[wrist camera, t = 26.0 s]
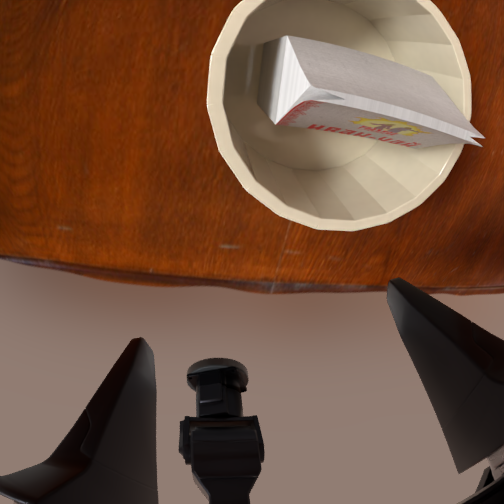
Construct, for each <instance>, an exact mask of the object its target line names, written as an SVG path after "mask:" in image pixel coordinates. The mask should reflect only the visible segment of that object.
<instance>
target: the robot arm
mask: <svg viewBox="0 0 504 504" xmlns="http://www.w3.org/2000/svg"><path fill="white" fill-rule="evenodd" d="M387 302H388V305H389V307H390V310H391V312H392V315H393V318H394V320H395V323H396V326H397V328H398V331H399V334H400V336H401V338H402V341H403V343H404V345H405V347H406V349H407V351H408V353H409V355H410V357H411V359H412V361H413V363H414V366H415V368H416V370H417V372H418V374H419V376H420V378H421V381H422V383H423V385H424V387H425V390H426V392H427V394H428V396H429V399H430V401H431V403H432V406H433V408H434V411H435V413H436V415H437V418H438V420H439V423H440V425H441V428H442V430H443V433H444V436H445V438H446V441H447V443H448V446H449V449H450V451H451V454H452V457H453V460H454V463H455V465H456V468H457V471H458V473H459V474H460V473H462V472H464V471H465V470H467V469H469V468H471V467H472V466H474V465H475V464H477V463H479V462H480V461H482V460H483V459H485V458H487V460H488V463H489V465H490V466H489V467H487V468H486V469H485V470H484V473H483V475H482V477H481V480H480V482H479V485H478V487H477V490H476V492H475V493H474V494H473V495H471V496H469V497H468V498H466V499H464V500H463V501H461V502H459V503H457V504H504V340H502V339H500V338H498V337H496V336H495V335H493V334H491V333H489V332H488V331H486V330H484V329H483V328H481V327H479V326H478V325H476V324H475V323H473V322H471V321H470V320H468V319H467V318H465V317H464V316H462V315H461V314H459V313H457V312H456V311H454V310H453V309H451V308H449V307H448V306H446V305H444V304H443V303H441V302H440V301H438V300H436V299H435V298H433V297H432V296H430V295H428V294H427V293H425V292H423V291H422V290H420V289H418V288H417V287H415V286H413V285H412V284H410V283H408V282H407V281H405V280H403V279H401V278H395V279H392V280H390V281H389V283H388V290H387ZM187 380H188V381H189V382H190V383H191V385H192V386H193V387H194V389H195V390H196V417H189V416H185V420H184V421H180V439H179V453H180V454H181V455H182V456H183V458H184V459H185V463H186V465H191V466H192V474H193V479H194V482H195V484H196V485H197V486H198V488H199V489H200V490H201V492H202V493H203V494H204V496H205V497H206V498H207V499H208V501H209V504H250V499H249V493H250V491H251V489H252V487H253V486H254V484H255V482H256V480H257V478H258V476H259V474H260V472H261V463H263V461H264V444H263V439H262V434H261V430H260V426H259V422H258V418H257V415H256V416H249V417H243V409H242V400H241V393H242V392H246V391H247V387H246V385H245V383H244V381H243V379H242V377H241V375H240V373H239V371H238V369H237V368H236V367H235V366H231V367H226V368H220V369H215V370H209V371H203V372H196V373H190V374H187ZM0 495H2V496H5V497H7V498H9V499H12V500H14V504H158V491H157V465H156V379H155V365H154V355H153V351H152V349H151V348H150V347H149V345H148V344H147V342H146V341H145V340H144V338H141V337H140V338H134V339H132V340H131V341H130V343H129V344H128V346H127V347H126V348H125V350H124V352H123V353H122V354H121V356H120V357H119V359H118V360H117V361H116V363H115V364H114V366H113V367H112V369H111V370H110V372H109V373H108V375H107V376H106V378H105V379H104V381H103V382H102V384H101V385H100V387H99V388H98V390H97V391H96V393H95V394H94V396H93V397H92V399H91V400H90V402H89V403H88V405H87V406H86V409H84V411H83V413H82V414H81V416H80V417H79V418H78V420H77V421H76V423H75V424H74V426H73V427H72V429H71V430H70V432H69V433H68V434H67V435H66V437H65V438H64V439H63V440H62V442H61V443H60V444H59V446H58V447H57V448H56V450H55V451H54V452H53V453H52V455H51V456H50V457H49V458H48V459H47V460H45V461H44V462H42V463H40V464H37V465H35V466H32V467H29V468H26V469H24V470H21V471H18V472H15V473H12V474H9V475H5V476H0Z"/></svg>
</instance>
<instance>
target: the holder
mask: <svg viewBox="0 0 504 504" xmlns="http://www.w3.org/2000/svg"><path fill="white" fill-rule="evenodd" d="M287 35H288V36H294V37H300V38H305V39H310V40H315V41H320V42H325V43H329V44H334V45H338V46H342V47H346V48H350V49H354V50H357V51H361V52H364V53H368V54H371V55H374V56H378V57H381V58H384V59H387V60H390V61H393V62H396V63H399V64H402V65H404V66H407V67H410V68H412V69H415V70H418V71H420V72H423V73H425V74H428V75H430V76H432V77H433V78H434V79H435V81H436V82H437V83H438V84H439V85H440V86H441V88H442V89H443V90H444V91H445V93H446V94H447V95H448V96H449V98H450V99H451V100H452V101H453V103H454V104H455V105H456V107H457V108H458V109H459V111H460V112H461V113H462V114H463V115H464V116H465V118H466V119H467V120H468V121H469V122H470V119H471V79H470V73H469V70H468V66H467V63H466V59H465V56H464V53H463V50H462V47H461V44H460V42H459V39H458V38H457V36H456V34H455V33H454V31H453V30H452V28H451V27H450V25H449V23H448V22H447V20H446V19H445V17H444V16H443V15H442V13H441V12H440V10H439V9H438V8H437V7H436V6H435V5H434V4H433V3H432V2H431V1H430V0H242V1H241V2H240V3H239V4H238V5H237V6H236V7H235V8H234V9H233V11H232V12H231V14H230V16H229V17H228V19H227V21H226V23H225V25H224V27H223V29H222V31H221V34H220V36H219V38H218V40H217V42H216V44H215V46H214V48H213V50H212V53H211V56H210V65H209V77H208V90H207V109H208V113H209V117H210V120H211V124H212V128H213V131H214V135H215V138H216V142H217V146H218V149H219V152H220V154H221V155H222V157H223V158H224V160H225V161H226V163H227V164H228V166H229V167H230V168H231V170H232V171H233V173H234V174H235V176H236V177H237V179H238V180H239V182H240V183H241V185H242V186H243V188H244V189H246V191H247V192H248V193H250V194H251V195H252V196H254V197H255V198H256V199H258V200H259V201H260V202H261V203H263V204H264V205H265V206H267V207H268V208H269V209H271V210H272V211H273V212H274V213H276V214H277V215H279V216H281V217H283V218H286V219H289V220H292V221H295V222H297V223H300V224H303V225H306V226H308V227H311V228H314V229H318V230H338V231H357V230H361V229H365V228H369V227H374V226H378V225H382V224H386V223H388V222H391V221H393V220H395V219H396V218H398V217H400V216H402V215H404V214H405V213H407V212H409V211H411V210H412V209H414V208H416V207H418V206H419V205H421V204H422V203H423V202H424V201H425V200H426V199H427V198H428V197H429V196H430V195H431V194H432V193H433V192H434V191H435V190H436V189H437V188H438V187H439V186H440V185H441V184H442V183H443V182H444V180H445V179H446V178H447V176H448V174H449V173H450V171H451V169H452V167H453V166H454V164H455V162H456V161H457V159H458V157H459V155H460V153H461V152H462V149H463V146H464V144H444V145H437V146H430V147H423V148H417V149H415V148H410V147H406V146H402V145H398V144H393V143H389V142H384V141H379V140H374V139H369V138H364V137H359V136H353V135H348V134H342V133H336V132H329V131H323V130H316V129H308V128H300V127H292V126H283V125H275V124H274V122H273V121H272V120H271V119H270V118H269V117H268V116H267V114H266V113H265V112H264V111H263V110H262V109H261V108H260V107H259V106H258V104H257V96H258V88H259V79H260V71H261V62H262V54H263V45H264V43H265V42H268V41H271V40H274V39H277V38H280V37H284V36H287Z"/></svg>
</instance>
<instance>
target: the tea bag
mask: <svg viewBox="0 0 504 504" xmlns="http://www.w3.org/2000/svg"><path fill="white" fill-rule="evenodd" d="M257 104H258V106H259V107H260V108H261V109H262V110H263V111H264V112H265V113H266V114H267V116H268V117H269V118H270V119H271V120H272V121H273V122H274V124H275V125H283V126H292V127H300V128H308V129H316V130H323V131H329V132H336V133H342V134H348V135H353V136H359V137H364V138H369V139H374V140H379V141H384V142H389V143H393V144H398V145H402V146H406V147H410V148H415V149H417V148H423V147H430V146H437V145H444V144H473V145H477V146H481V145H480V144H479V143H477V142H476V141H475V140H473V139H472V138H471V137H478V138H485V137H484V136H483V135H481V134H480V133H479V132H478V131H477V130H476V129H475V128H474V127H473V126H472V125H471V124H470V122H469V121H468V120H467V119H466V118H465V116H464V115H463V114H462V113H461V112H460V111H459V109H458V108H457V107H456V105H455V104H454V103H453V101H452V100H451V99H450V98H449V96H448V95H447V94H446V93H445V91H444V90H443V89H442V88H441V86H440V85H439V84H438V83H437V82H436V81H435V79H434V78H433V77H432V76H430V75H428V74H425V73H423V72H420V71H418V70H415V69H412V68H410V67H407V66H404V65H402V64H399V63H396V62H393V61H390V60H387V59H384V58H381V57H378V56H374V55H371V54H368V53H364V52H361V51H357V50H354V49H350V48H346V47H342V46H338V45H334V44H329V43H325V42H320V41H315V40H310V39H305V38H300V37H294V36H288V35H287V36H284V37H280V38H277V39H274V40H271V41H268V42H265V43H264V45H263V54H262V62H261V71H260V79H259V88H258V96H257ZM481 147H482V146H481Z"/></svg>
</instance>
